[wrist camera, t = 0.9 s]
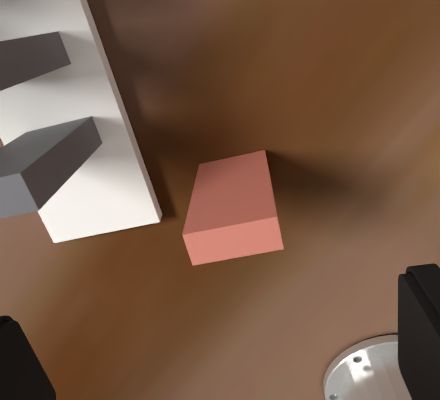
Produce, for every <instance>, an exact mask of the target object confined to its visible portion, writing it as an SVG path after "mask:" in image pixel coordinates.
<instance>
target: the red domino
mask: <svg viewBox="0 0 440 400" xmlns="http://www.w3.org/2000/svg"><path fill="white" fill-rule="evenodd" d="M183 238H184V241H185V244H186V247H187V250H188V253H189V256H190V259H191V262H192V265H198V264H203V263H209V262H215V261H220V260H226V259H231V258H237V257H242V256H248V255H253V254H259V253H265V252H270V251H276V250H281V249H284V248H283V243H282V237H281V232H280V226H279V221H278V215H277V210H276V205H275V199H274V194H273V188H272V183H271V177H270V172H269V167H268V163H267V158H266V153H265V150H262V151H257V152H253V153H248V154H244V155H239V156H234V157H230V158H225V159H221V160H216V161H211V162H207V163H202V164H199V167H198V171H197V175H196V179H195V184H194V188H193V192H192V196H191V201H190V205H189V209H188V213H187V218H186V222H185V226H184V230H183Z"/></svg>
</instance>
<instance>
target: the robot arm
mask: <svg viewBox="0 0 440 400" xmlns="http://www.w3.org/2000/svg"><path fill="white" fill-rule="evenodd" d="M323 388H324V394H325V398H326V400H440V268H439V267H438V266H437V265H436V264H426V265H418V266H409V267H407V269H406V274H400V275H399V277H398V335H386V336H379V337H375V338H371V339H367V340H364V341H362V342H360V343H357V344H355V345H353V346H351V347H350V348H348V349H346V350H345V351H343V352H342V353H341V354H340V355H339V356H338V357H336V358H335V359H334V360H333V362H332V363H331V364H330V366H329V367H328V369H327V371H326V373H325V376H324V381H323ZM0 400H56V393H55V390H54V388H53V386H52V385H51V383H50V381H49V379H48V377H47V375H46V373H45V372H44V370H43V368H42V366H41V364H40V362H39V360H38V358H37V357H36V355H35V353H34V351H33V349H32V347H31V345H30V344H29V342H28V340H27V338H26V336H25V334H24V332H23V331H22V329H21V327H20V325H19V323H18V322H17V321H14V320H13V319H12V318H11V317H9V316H0Z"/></svg>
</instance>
